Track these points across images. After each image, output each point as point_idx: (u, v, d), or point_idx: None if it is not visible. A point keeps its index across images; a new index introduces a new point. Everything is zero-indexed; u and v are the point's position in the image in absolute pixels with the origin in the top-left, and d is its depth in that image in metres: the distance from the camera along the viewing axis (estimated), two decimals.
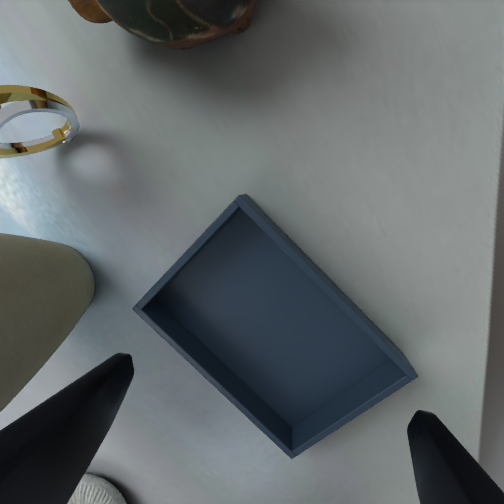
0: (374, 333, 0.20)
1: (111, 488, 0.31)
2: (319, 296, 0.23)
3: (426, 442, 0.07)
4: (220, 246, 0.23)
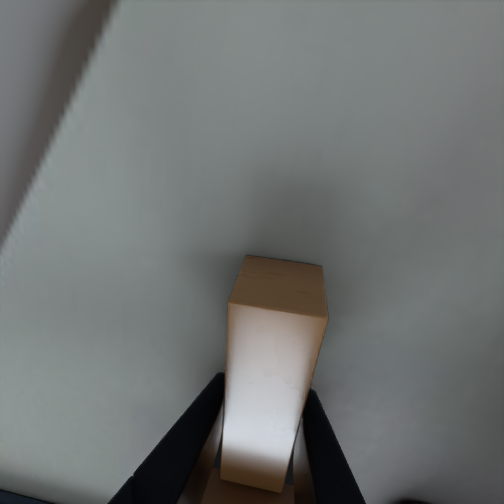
0: None
1: None
2: None
3: None
4: None
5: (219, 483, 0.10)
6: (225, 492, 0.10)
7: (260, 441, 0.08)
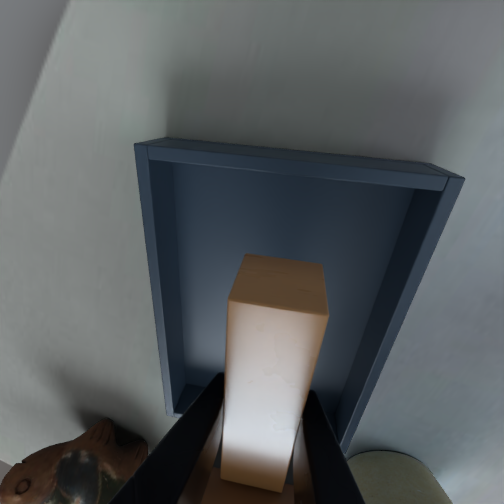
0: (147, 245, 0.14)
1: None
2: (194, 286, 0.18)
3: None
4: None
5: (219, 483, 0.10)
6: (225, 492, 0.09)
7: (261, 440, 0.08)
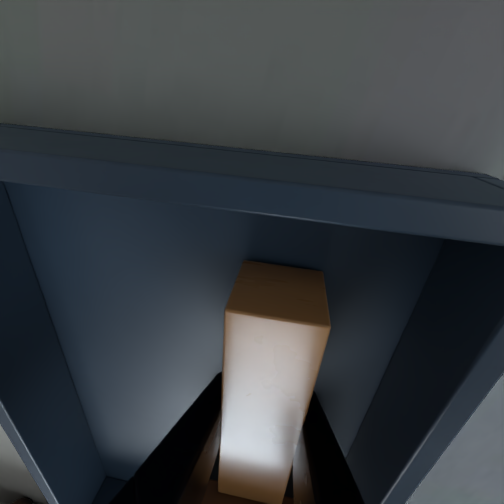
0: None
1: None
2: (87, 362, 0.11)
3: None
4: None
5: (217, 496, 0.09)
6: None
7: (259, 454, 0.08)
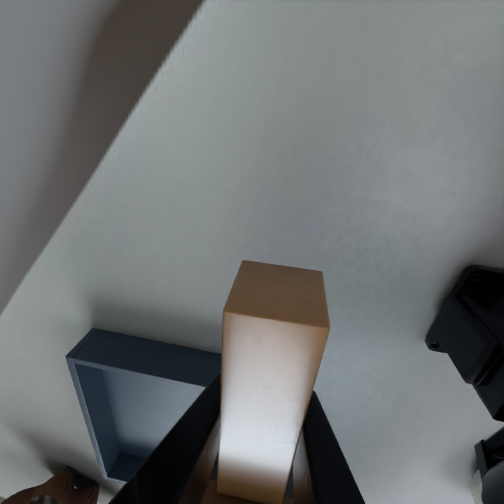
0: (78, 396, 0.23)
1: (475, 478, 0.23)
2: (118, 401, 0.27)
3: None
4: None
5: (216, 497, 0.09)
6: None
7: (258, 454, 0.08)
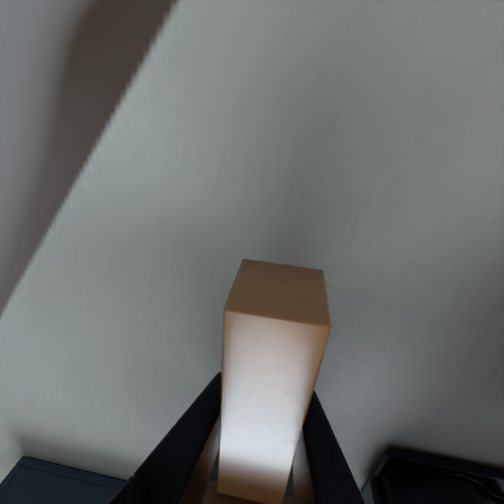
0: None
1: None
2: None
3: None
4: None
5: (216, 497, 0.09)
6: None
7: (259, 454, 0.08)
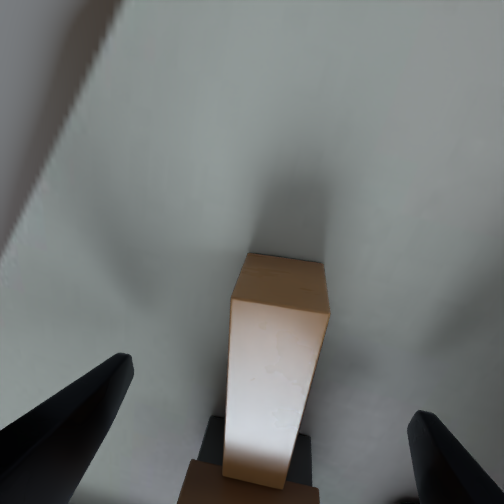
0: None
1: None
2: None
3: (426, 442, 0.07)
4: None
5: (221, 480, 0.10)
6: (227, 489, 0.10)
7: (262, 437, 0.08)
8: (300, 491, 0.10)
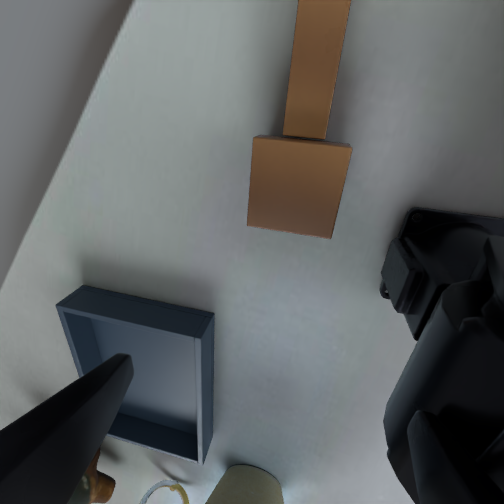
0: (69, 346, 0.26)
1: None
2: (108, 358, 0.29)
3: (426, 442, 0.07)
4: (143, 415, 0.33)
5: (282, 137, 0.14)
6: (286, 138, 0.14)
7: (316, 69, 0.13)
8: (336, 143, 0.14)
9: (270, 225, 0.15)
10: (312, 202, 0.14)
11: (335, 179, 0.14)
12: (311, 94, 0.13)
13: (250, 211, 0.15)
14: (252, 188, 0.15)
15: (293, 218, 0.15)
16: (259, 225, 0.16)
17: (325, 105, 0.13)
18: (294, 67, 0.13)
